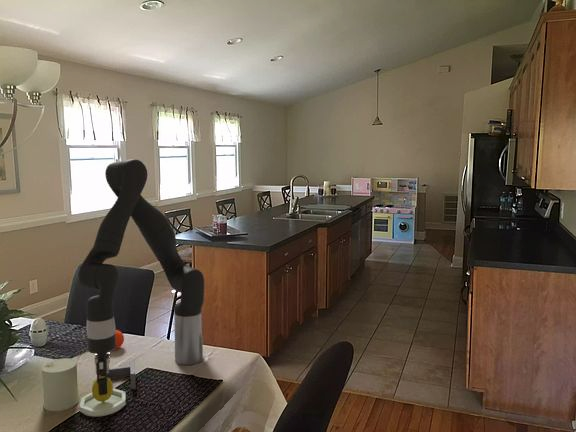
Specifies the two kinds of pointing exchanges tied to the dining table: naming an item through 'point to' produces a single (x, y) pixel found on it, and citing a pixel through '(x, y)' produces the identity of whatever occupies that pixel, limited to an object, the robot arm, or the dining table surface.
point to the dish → (103, 404)
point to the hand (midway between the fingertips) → (103, 387)
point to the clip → (124, 372)
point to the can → (60, 384)
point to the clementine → (119, 339)
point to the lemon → (96, 390)
